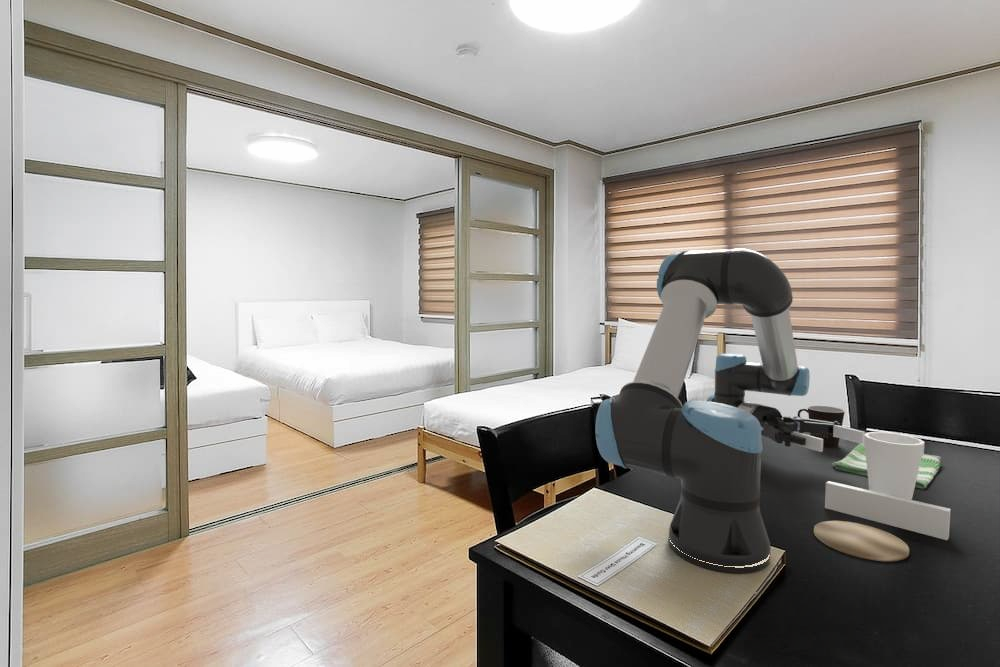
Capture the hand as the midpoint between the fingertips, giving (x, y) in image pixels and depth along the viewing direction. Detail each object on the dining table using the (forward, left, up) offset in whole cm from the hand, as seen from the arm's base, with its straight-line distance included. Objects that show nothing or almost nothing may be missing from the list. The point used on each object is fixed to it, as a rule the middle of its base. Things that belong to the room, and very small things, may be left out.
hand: (843, 441), depth 110 cm
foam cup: (-4, -9, -10) cm, 14 cm away
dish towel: (+23, -4, -10) cm, 25 cm away
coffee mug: (+33, +13, -10) cm, 37 cm away
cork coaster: (-28, -9, -10) cm, 31 cm away
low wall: (-16, -10, -10) cm, 21 cm away
